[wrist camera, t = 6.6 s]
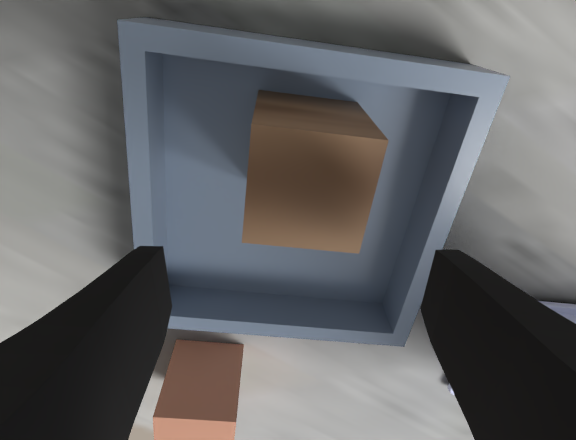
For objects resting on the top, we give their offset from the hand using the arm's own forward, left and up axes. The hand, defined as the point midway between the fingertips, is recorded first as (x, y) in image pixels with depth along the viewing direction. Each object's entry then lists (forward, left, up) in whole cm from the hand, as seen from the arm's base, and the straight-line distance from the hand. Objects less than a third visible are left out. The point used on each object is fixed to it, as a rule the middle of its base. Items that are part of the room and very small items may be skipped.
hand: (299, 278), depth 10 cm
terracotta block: (+3, +14, -8) cm, 16 cm away
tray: (0, +1, -8) cm, 9 cm away
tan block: (0, -1, -8) cm, 8 cm away
